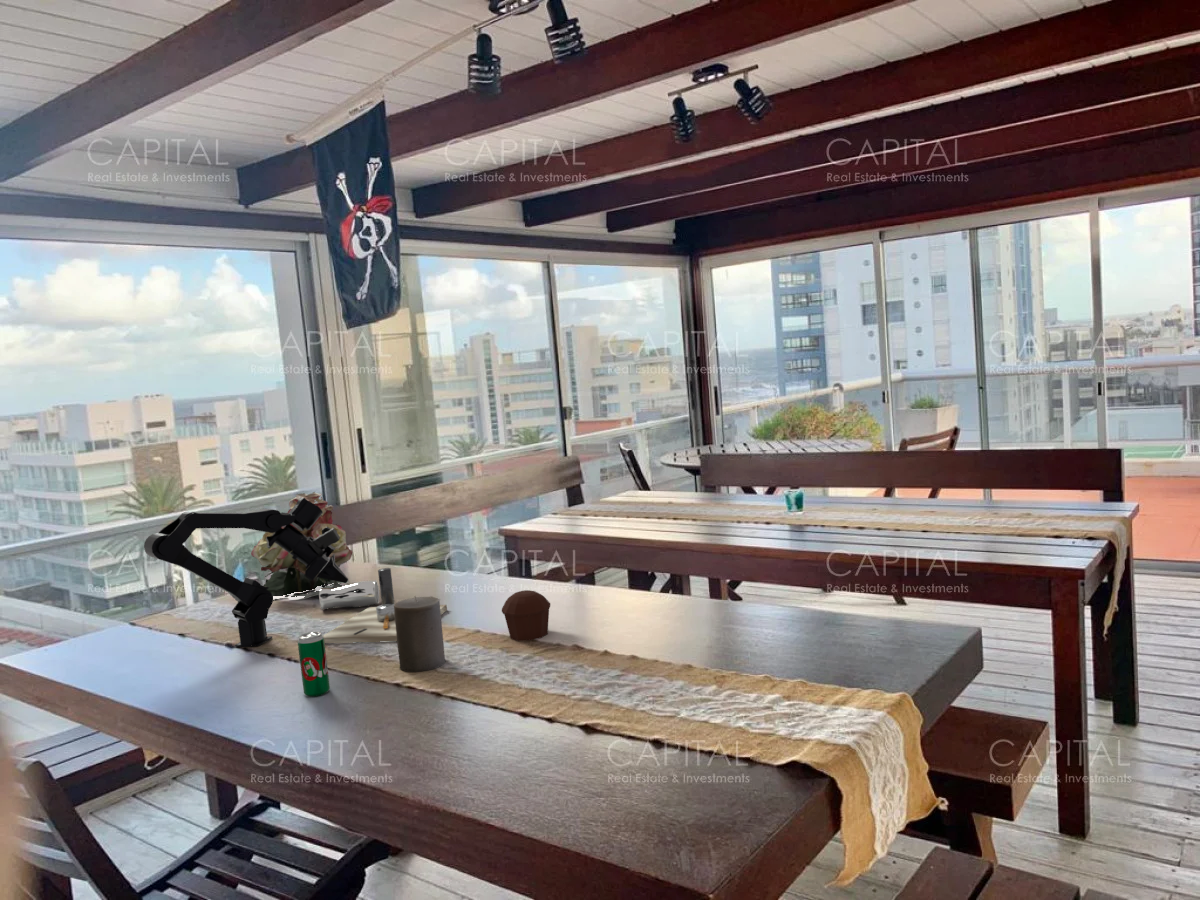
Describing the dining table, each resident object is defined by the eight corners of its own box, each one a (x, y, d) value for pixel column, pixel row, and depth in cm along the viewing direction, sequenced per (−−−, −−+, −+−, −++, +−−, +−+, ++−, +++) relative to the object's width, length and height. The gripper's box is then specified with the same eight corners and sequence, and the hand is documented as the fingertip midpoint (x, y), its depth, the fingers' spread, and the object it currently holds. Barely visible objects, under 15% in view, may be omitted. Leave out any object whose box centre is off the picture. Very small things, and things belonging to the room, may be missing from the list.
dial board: (406, 641, 210) (405, 634, 210) (320, 643, 215) (319, 636, 215) (447, 610, 236) (446, 603, 236) (369, 612, 240) (368, 606, 240)
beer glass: (320, 613, 244) (376, 606, 245) (317, 587, 244) (373, 580, 246) (326, 610, 251) (380, 603, 252) (323, 585, 251) (377, 578, 253)
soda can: (321, 686, 184) (314, 629, 183) (335, 690, 181) (328, 632, 180) (299, 695, 180) (291, 636, 179) (313, 699, 177) (306, 640, 176)
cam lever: (396, 626, 217) (391, 582, 216) (374, 629, 216) (369, 585, 215) (399, 608, 235) (394, 566, 234) (379, 610, 234) (374, 569, 233)
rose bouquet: (247, 605, 262) (234, 503, 259) (302, 580, 290) (291, 488, 287) (326, 603, 256) (313, 499, 253) (375, 577, 284) (364, 483, 281)
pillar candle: (400, 675, 187) (393, 604, 185) (398, 661, 196) (391, 594, 195) (448, 667, 189) (441, 598, 188) (443, 654, 199) (437, 587, 197)
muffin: (497, 634, 210) (492, 592, 209) (540, 624, 215) (536, 583, 214) (516, 646, 200) (511, 602, 199) (561, 635, 205) (557, 592, 204)
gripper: (313, 525, 218) (365, 564, 221) (322, 514, 237) (370, 550, 240) (283, 561, 218) (335, 599, 221) (294, 547, 236) (343, 582, 239)
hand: (347, 581), depth 230 cm, fingers closed
